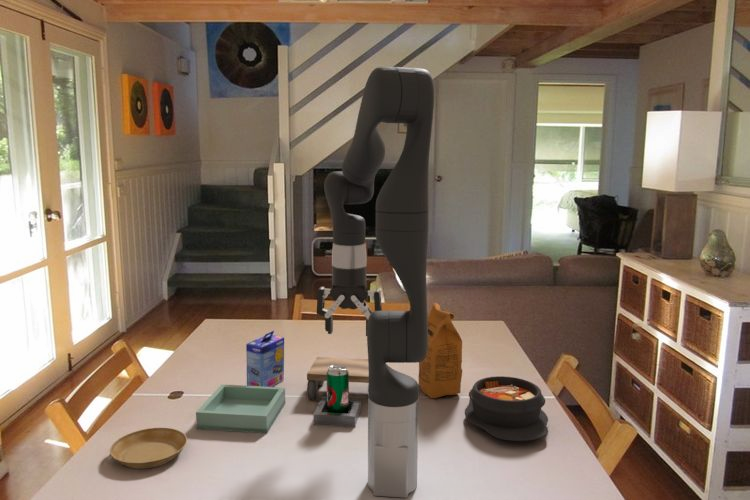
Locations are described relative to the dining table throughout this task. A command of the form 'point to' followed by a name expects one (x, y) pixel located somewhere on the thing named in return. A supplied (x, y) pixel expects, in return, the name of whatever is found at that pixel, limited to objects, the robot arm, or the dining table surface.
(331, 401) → the soda can
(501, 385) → the casserole
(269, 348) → the ink cartridge box
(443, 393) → the coffee package
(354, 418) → the frame
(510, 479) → the dining table surface
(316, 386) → the trolley
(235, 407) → the tray
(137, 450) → the plant saucer
